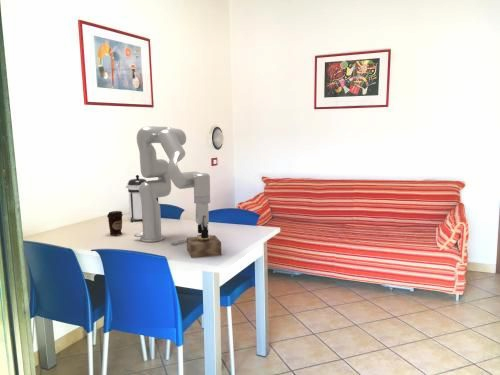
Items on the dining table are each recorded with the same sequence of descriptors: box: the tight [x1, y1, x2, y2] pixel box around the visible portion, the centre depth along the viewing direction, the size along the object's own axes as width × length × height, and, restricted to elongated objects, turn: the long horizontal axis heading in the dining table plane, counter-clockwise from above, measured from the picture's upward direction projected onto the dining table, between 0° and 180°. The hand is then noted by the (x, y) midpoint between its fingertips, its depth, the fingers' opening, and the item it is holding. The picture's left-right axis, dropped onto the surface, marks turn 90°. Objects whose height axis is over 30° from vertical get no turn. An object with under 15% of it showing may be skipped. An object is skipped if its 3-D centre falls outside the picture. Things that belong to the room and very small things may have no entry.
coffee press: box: [125, 174, 159, 223], centre depth 269 cm, size 17×16×30 cm
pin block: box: [186, 234, 222, 259], centre depth 193 cm, size 14×14×6 cm
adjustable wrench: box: [170, 233, 212, 247], centre depth 215 cm, size 25×6×2 cm, turn 132°
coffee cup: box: [106, 210, 124, 237], centre depth 230 cm, size 9×8×13 cm
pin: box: [196, 234, 210, 241], centre depth 193 cm, size 6×6×8 cm
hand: (203, 235), depth 192 cm, fingers open, 9 cm apart
